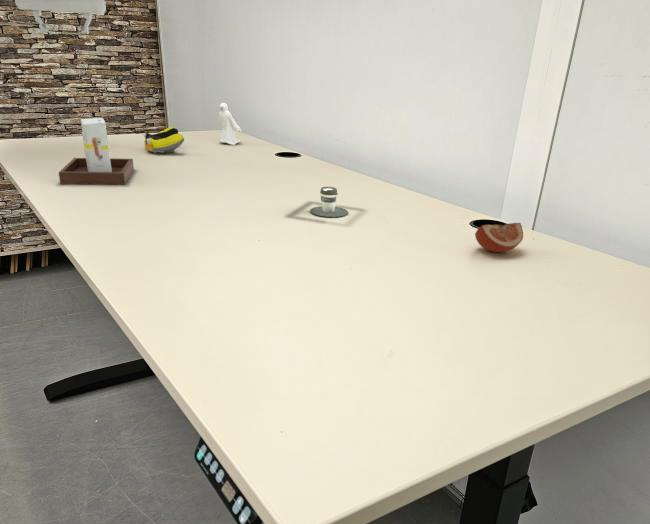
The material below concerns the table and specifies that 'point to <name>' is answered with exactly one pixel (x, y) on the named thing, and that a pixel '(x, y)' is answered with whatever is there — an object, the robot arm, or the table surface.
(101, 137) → the ink box
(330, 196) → the coffee cup
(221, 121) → the figurine
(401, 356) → the table surface
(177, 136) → the yellow rounded piece
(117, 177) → the tray
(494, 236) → the fruit slice
